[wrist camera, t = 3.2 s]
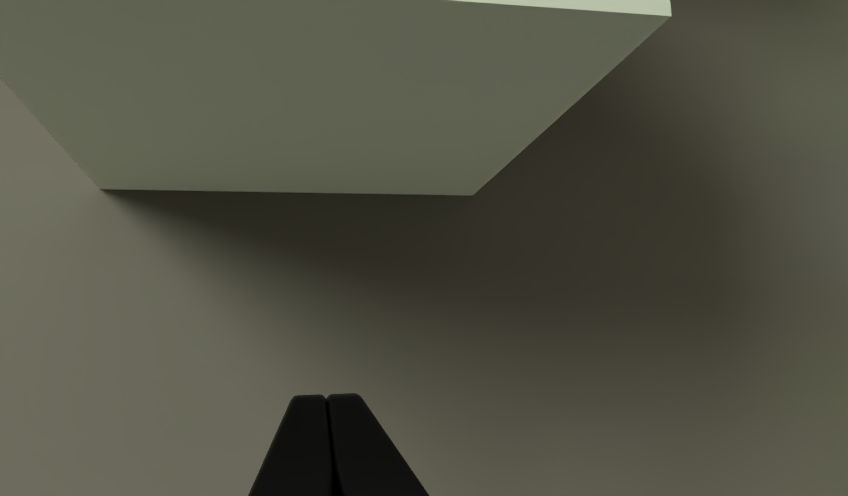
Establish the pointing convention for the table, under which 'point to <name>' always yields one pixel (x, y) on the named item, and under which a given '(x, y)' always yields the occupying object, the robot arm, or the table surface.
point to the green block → (309, 86)
